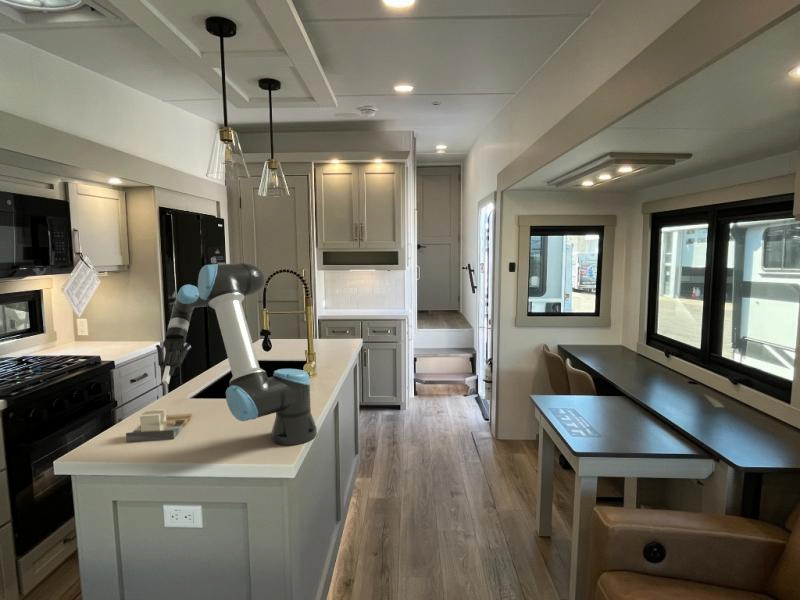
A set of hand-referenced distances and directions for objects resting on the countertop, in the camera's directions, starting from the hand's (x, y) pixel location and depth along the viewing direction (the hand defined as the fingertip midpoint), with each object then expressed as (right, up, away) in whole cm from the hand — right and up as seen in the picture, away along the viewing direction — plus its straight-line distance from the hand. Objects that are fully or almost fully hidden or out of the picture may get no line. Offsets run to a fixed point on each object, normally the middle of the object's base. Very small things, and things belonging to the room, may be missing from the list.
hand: (165, 382), depth 167 cm
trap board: (+2, -16, -6) cm, 17 cm away
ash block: (+3, -15, -12) cm, 20 cm away
